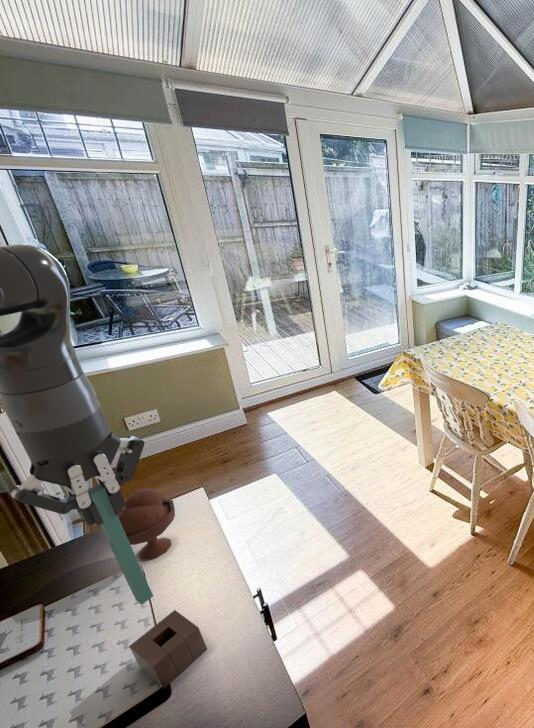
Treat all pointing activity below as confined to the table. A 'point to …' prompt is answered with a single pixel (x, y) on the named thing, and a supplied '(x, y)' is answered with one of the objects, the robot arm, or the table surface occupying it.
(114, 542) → the stick
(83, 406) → the robot arm
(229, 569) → the table surface
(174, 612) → the holder
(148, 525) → the ice cream bowl
